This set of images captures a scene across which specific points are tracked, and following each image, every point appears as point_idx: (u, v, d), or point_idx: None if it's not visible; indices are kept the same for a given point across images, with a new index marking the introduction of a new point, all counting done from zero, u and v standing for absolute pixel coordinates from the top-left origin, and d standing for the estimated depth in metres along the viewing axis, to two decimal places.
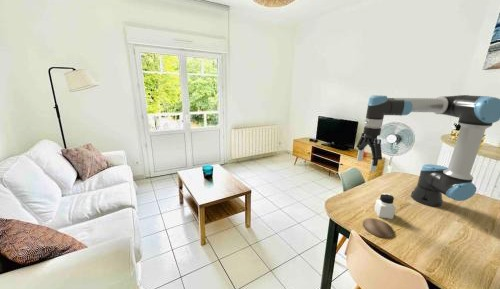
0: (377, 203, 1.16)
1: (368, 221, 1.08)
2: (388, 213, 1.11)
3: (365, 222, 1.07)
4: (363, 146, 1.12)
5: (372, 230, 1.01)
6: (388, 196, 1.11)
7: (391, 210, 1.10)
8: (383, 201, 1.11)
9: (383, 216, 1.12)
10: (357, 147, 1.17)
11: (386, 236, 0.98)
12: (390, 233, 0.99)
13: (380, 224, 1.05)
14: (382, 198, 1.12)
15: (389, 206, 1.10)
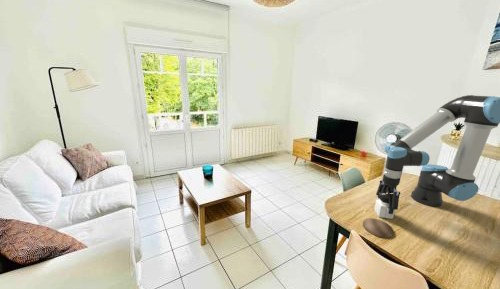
0: (377, 203, 1.16)
1: (368, 221, 1.08)
2: None
3: (365, 222, 1.07)
4: None
5: (372, 230, 1.01)
6: None
7: None
8: (383, 201, 1.11)
9: (383, 216, 1.12)
10: None
11: (386, 236, 0.98)
12: (390, 233, 0.99)
13: (380, 224, 1.05)
14: (382, 198, 1.12)
15: None
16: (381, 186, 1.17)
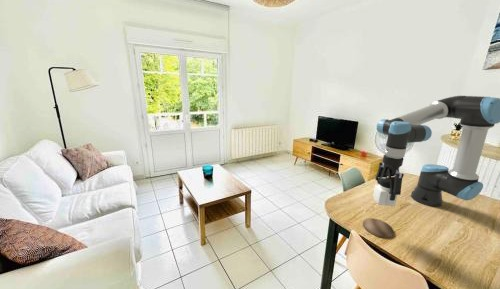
0: (376, 189, 1.00)
1: (368, 221, 1.08)
2: None
3: (365, 222, 1.07)
4: None
5: (372, 230, 1.01)
6: (389, 180, 0.95)
7: None
8: (383, 186, 0.96)
9: (383, 203, 0.96)
10: None
11: (386, 236, 0.98)
12: (390, 233, 0.99)
13: (380, 224, 1.05)
14: (382, 182, 0.96)
15: None
16: (381, 169, 1.01)
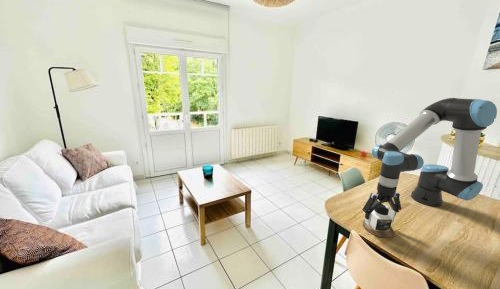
0: None
1: None
2: (372, 221, 1.02)
3: None
4: (391, 205, 1.01)
5: (372, 230, 1.01)
6: (380, 205, 1.00)
7: (374, 219, 1.01)
8: None
9: None
10: None
11: (386, 236, 0.98)
12: (390, 233, 0.99)
13: None
14: None
15: (375, 214, 1.01)
16: (394, 198, 1.01)
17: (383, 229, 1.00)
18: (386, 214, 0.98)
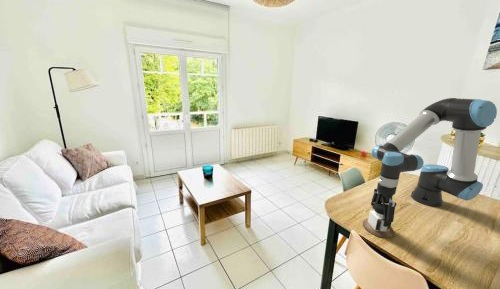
0: None
1: None
2: (372, 221, 1.02)
3: (365, 222, 1.07)
4: None
5: (372, 230, 1.01)
6: (380, 205, 1.00)
7: (374, 219, 1.01)
8: None
9: (369, 223, 1.05)
10: None
11: (386, 236, 0.98)
12: (390, 233, 0.99)
13: None
14: None
15: (375, 215, 1.01)
16: (376, 195, 1.05)
17: None
18: None
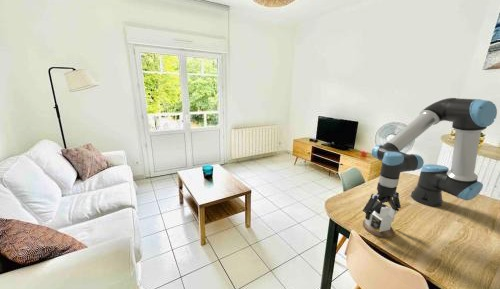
0: None
1: None
2: None
3: None
4: (391, 204, 1.02)
5: (372, 230, 1.01)
6: None
7: None
8: None
9: None
10: None
11: (386, 236, 0.98)
12: (390, 233, 0.99)
13: None
14: None
15: (374, 211, 1.04)
16: (393, 197, 1.01)
17: (373, 226, 1.02)
18: (378, 212, 1.00)
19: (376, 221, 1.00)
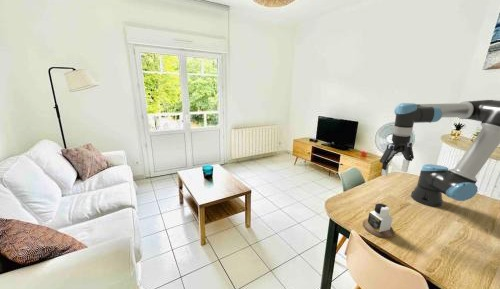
0: None
1: None
2: None
3: (365, 222, 1.07)
4: (405, 155, 1.09)
5: (372, 230, 1.01)
6: (380, 204, 1.01)
7: None
8: None
9: None
10: None
11: (386, 236, 0.98)
12: (390, 233, 0.99)
13: None
14: None
15: None
16: (406, 148, 1.08)
17: (373, 226, 1.02)
18: (378, 212, 1.00)
19: (376, 221, 1.00)
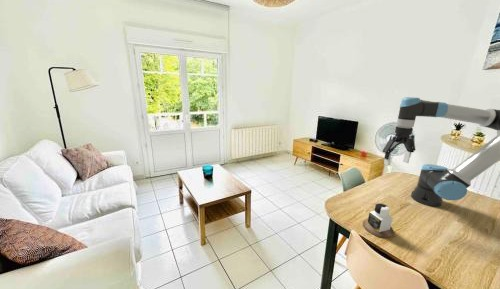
0: None
1: None
2: None
3: (365, 222, 1.07)
4: (407, 147, 1.16)
5: (372, 230, 1.01)
6: (380, 204, 1.01)
7: None
8: None
9: None
10: None
11: (386, 236, 0.98)
12: (390, 233, 0.99)
13: None
14: None
15: None
16: (409, 140, 1.15)
17: (373, 226, 1.02)
18: (378, 212, 1.00)
19: (376, 221, 1.00)
